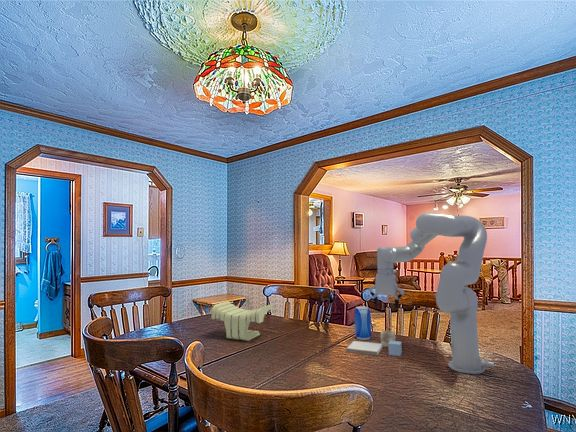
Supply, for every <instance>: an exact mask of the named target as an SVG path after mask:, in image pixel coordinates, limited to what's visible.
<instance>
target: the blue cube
mask: <svg viewBox="0 0 576 432" xmlns="http://www.w3.org/2000/svg"><path fill="white" fill-rule="evenodd" d="M402 347H403V346H402V341H399V340H396V341H389V343H388V347H387V348H388V349H387V350H388V355H389V356H396V357H401V356H402V354H403V350H402V349H403V348H402Z"/></svg>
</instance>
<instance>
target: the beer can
mask: <svg viewBox="0 0 576 432" xmlns="http://www.w3.org/2000/svg"><path fill="white" fill-rule="evenodd" d="M353 317H354V336H355V337H356V340H358V341H370V339H371V337H372V321H371V319H372V316H371V311H370V309H369V307H368V306H365V305H364V306H362V305H361V306H356V307H355V310H354V315H353Z"/></svg>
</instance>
